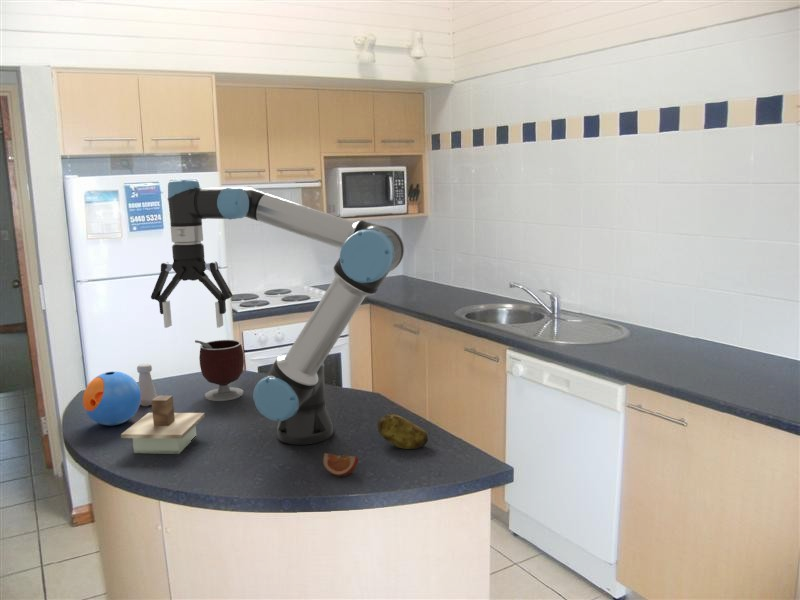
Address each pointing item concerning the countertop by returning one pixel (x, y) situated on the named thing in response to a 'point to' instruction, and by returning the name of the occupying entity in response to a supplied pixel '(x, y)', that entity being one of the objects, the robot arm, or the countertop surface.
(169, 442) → the dish
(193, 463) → the countertop surface
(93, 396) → the treat dispenser ball
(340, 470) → the fruit slice
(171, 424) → the lid
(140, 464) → the countertop surface
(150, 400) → the salt shaker
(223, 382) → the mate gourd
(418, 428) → the potato
